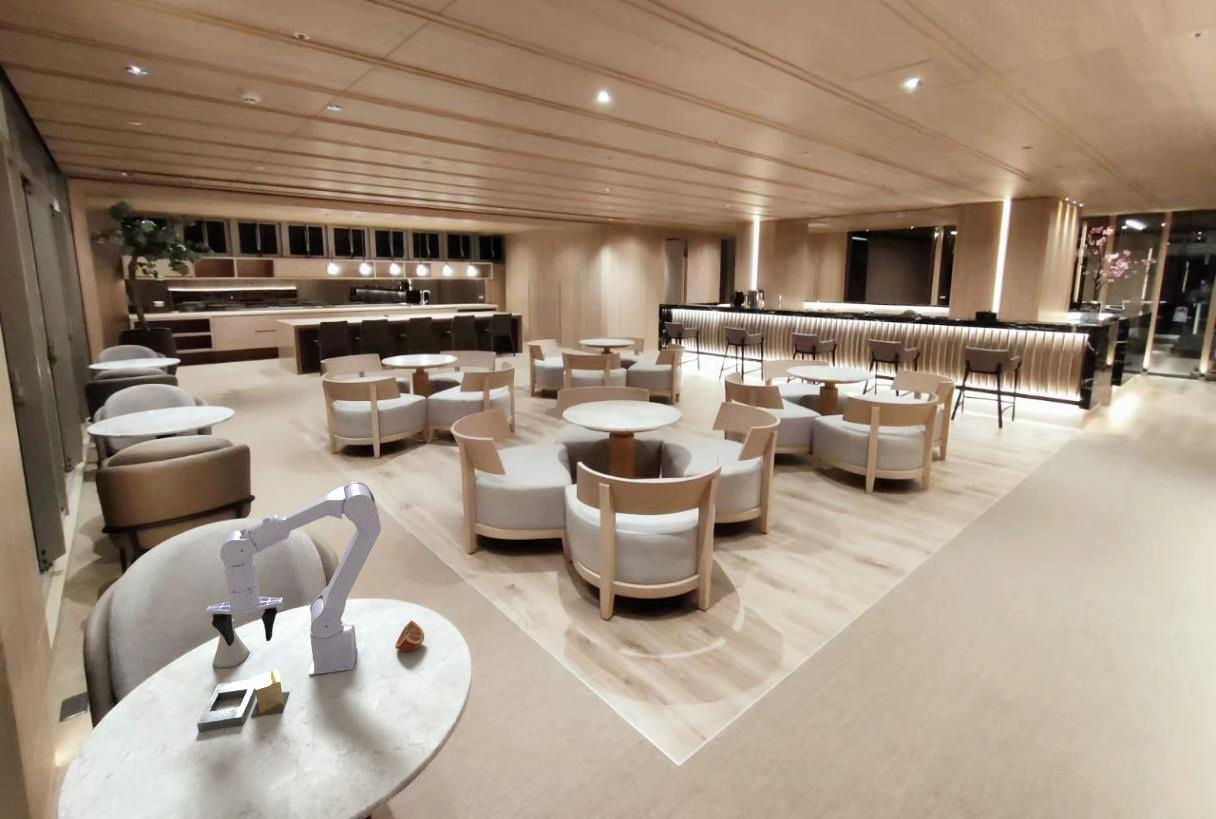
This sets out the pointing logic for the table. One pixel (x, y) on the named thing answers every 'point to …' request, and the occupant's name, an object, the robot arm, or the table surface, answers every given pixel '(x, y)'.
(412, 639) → the fruit slice
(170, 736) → the table surface
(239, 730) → the table surface
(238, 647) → the flask
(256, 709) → the flat gray plate
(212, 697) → the gray rectangular frame
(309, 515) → the robot arm
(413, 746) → the table surface
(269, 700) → the block
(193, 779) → the table surface
